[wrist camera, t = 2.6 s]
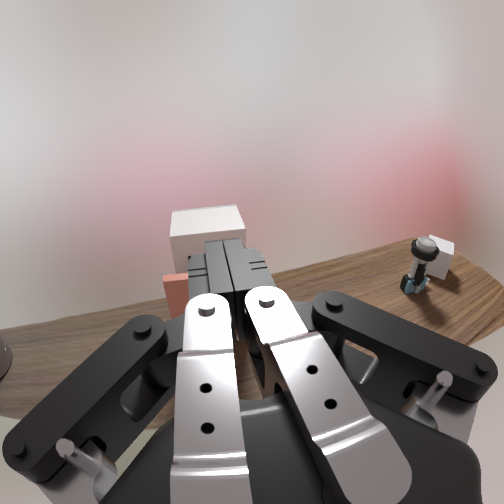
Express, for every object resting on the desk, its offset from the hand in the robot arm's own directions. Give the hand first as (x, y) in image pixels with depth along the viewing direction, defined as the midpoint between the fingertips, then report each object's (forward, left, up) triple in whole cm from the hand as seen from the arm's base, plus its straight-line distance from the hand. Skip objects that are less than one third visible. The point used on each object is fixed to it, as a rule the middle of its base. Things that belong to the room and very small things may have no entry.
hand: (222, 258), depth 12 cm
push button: (+41, -5, -24) cm, 48 cm away
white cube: (+51, -7, -25) cm, 57 cm away
